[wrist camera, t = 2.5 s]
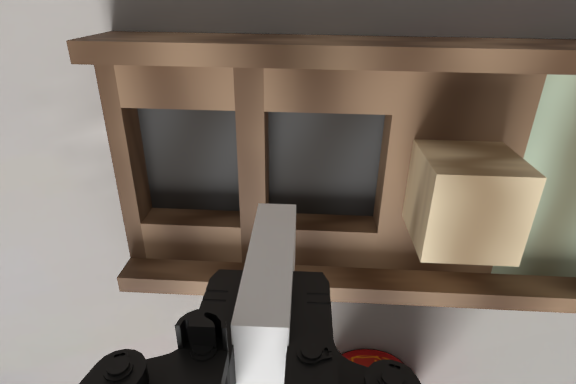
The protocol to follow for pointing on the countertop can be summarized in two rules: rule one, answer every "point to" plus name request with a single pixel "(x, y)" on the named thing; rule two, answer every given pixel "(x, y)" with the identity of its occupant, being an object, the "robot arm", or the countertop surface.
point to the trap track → (330, 155)
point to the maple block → (470, 202)
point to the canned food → (368, 356)
